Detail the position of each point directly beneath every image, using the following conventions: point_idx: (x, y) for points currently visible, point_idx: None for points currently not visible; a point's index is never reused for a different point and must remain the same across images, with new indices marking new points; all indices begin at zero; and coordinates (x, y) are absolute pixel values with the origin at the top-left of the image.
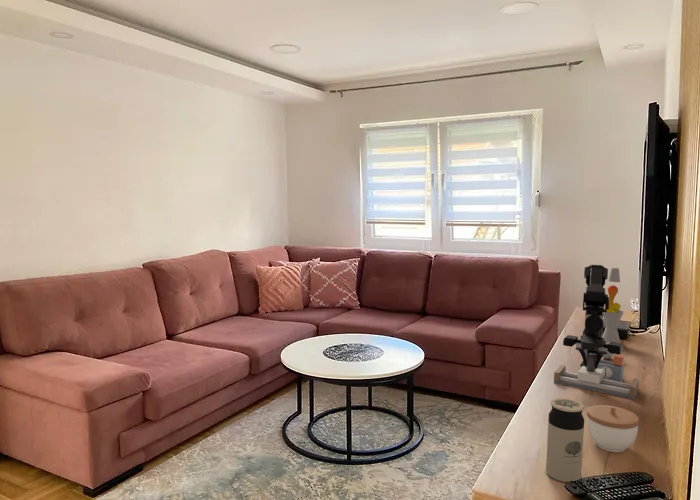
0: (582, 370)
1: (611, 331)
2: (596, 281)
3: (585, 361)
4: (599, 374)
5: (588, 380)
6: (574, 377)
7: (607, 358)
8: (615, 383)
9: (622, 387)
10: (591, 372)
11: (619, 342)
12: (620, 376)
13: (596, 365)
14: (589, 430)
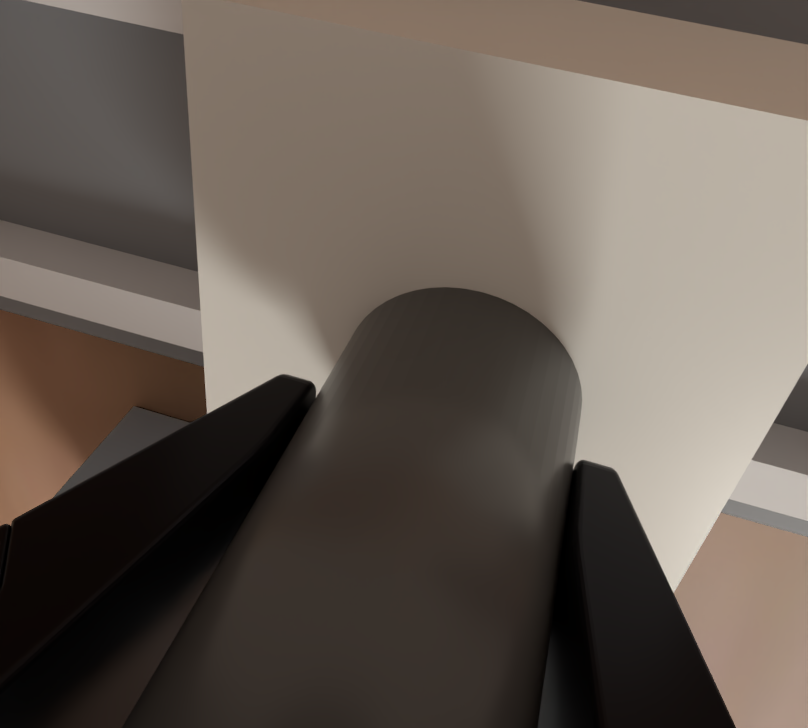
0: (708, 332)
1: None
2: None
3: (604, 608)
4: (205, 125)
5: (551, 2)
6: (800, 424)
7: None
8: (101, 267)
9: (9, 187)
10: (436, 229)
11: None
12: (74, 482)
13: (230, 433)
14: None
